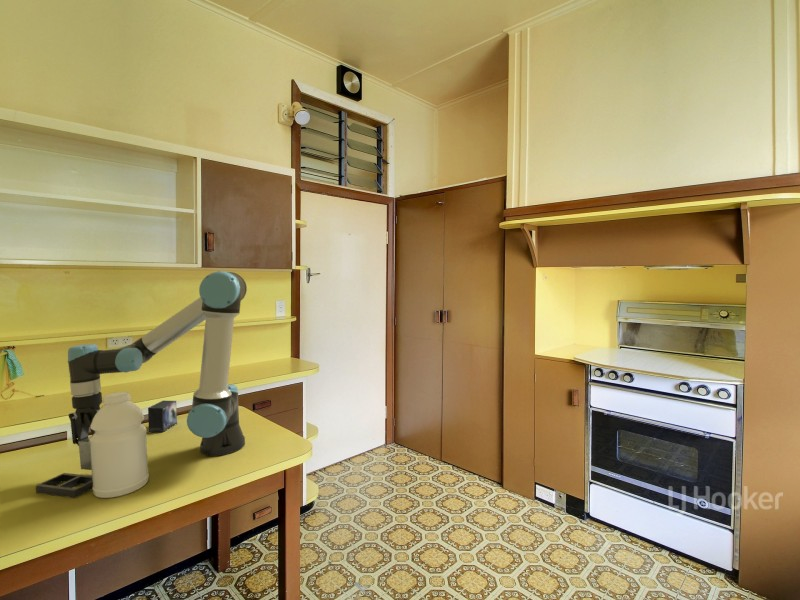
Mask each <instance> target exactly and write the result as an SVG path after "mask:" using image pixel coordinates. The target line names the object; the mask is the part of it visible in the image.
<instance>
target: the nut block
mask: <svg viewBox="0 0 800 600" xmlns="http://www.w3.org/2000/svg"><path fill="white" fill-rule="evenodd" d="M91 436H92V435H90V436H88V438H85V439H83V440H80V441H78V443H79V446H78V450H79V451H78V453H79V462H80V463H79V464H80V470H85V471H86V470H89V471H92V465H91V450H90V437H91Z"/></svg>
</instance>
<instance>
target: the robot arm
mask: <svg viewBox="0 0 800 600" xmlns="http://www.w3.org/2000/svg"><path fill="white" fill-rule="evenodd" d="M247 291H248V288H247V283H246V281H245V279H244V278H243V277H242V276H241V275H240V274H238V273H235V272H231V271H225V270H223V271H222V270H218V271H214V272H213V271H212V272H211V273H209V274H208V275H206V276H205V277H204V278H203V279H202V280H201V282H200V284H199V290H198V292H199V297H198V298H197V299H196V300H194V301H193V302H191V303H190V304H188V305H186V306H185V307H184V308H182V309H181V310H179V311H178V312H177V313H175V314H174V315H172V316H171V317H169V318H168V319H166V320H165V321H163V322H161V323H160V324H159V325H157V326H156V327H155V328H153V329H151V330H150V331H149V332H147V333H146V334H144V335H143V336H141V337H140V338H138V339H137V340H135V341H134V342H132V343H130V344H127V345H125V346H122V347H119V348H113V349H101V350H100V349H99V348H98V345H97V344H95V343H92V344H91V343H88V344H87V343H86V344H78V345H74V346H71V347H69V348H68V350H67V363H68V372H69V379H70V381H69V382H70V383H69V385H70V395H71V396H72V397H71V403H72V404H71V405H72V406H71V407H72V409H74V410H75V411H74V412H71V413H69V414H68V419H69V420H70V429H71V439H72V443H73V444H74V445H77V447H79V443H78V441H80V440H83V439H85V438H88V437H89V435H90V434H89V432H90V431H91V432H90V433H91V436H92V435H93V434H94V433H95V431H94V430H92V429H91V428H90V426H91V423H92V420H93V418H94V416H95V415H96V413H97V412H98V410H99V409H100V408H101V404H102V403H103V395H102V394H103V393H102V392H101V390H102V386H101V375H102V374H116V373H129V372H136V371H138V370H140V368H141V367H142V366H143V364H145V363H147V362H149V361H150V360H151V359H153V357H155V355H156V354H158V353H159V352H161V351H162V350H164V349H166V347H168V346H169V345H171V344H172V343H174V342H175V341H177V340H178V339H180V338H181V337H182V336H184V335H185V334H187V333H188V332H190V331H192V330H193V329H194V328H195V327H197V326H198V325H200V324H202V323H203V322H204V321H205V323H204V332H203V333H204V334H203V345H202V355H201V356H202V357H201V366H200V375H199V376H200V377H199V385H198V388H197V389H196V390H195V391H194V392H193V395H192V405H191V409H189V411H188V413H187V417H186V425H187V429H189V431H190V432H191V433H192V434H193V435H195V436H197V437H199V438H201V441H200V445H199V447H200V448H199V451H200V454H202V455H204V456H210V457H215V456H224V455H229V454H232V453H234V452H237V451H240V450H242V449H243V447H245V445H246V440H245V439H246V438H245V435H244V433H243V431H242V428H241V425H240V417H239V415H240V412H239V389H238V386H237V385H235V384H229V383H228V382H229V374H230V365H231V364H230V362H231V355H232V342H233V333H234V323H235V318H236V317H237V316H239V314H240V311H241V303H242V300H243V299H245V296H246V294H247Z"/></svg>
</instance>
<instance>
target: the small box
mask: <svg viewBox="0 0 800 600" xmlns="http://www.w3.org/2000/svg"><path fill="white" fill-rule="evenodd" d="M177 412H178V411H177V400H161V401H159V402H157V403H155V404H152V405H151V406H149V407H147V415H148V418H147V419H148V420H147V421H148V433H149V432H152V433H164V432H166V431H168V430H169V429H171V428H173V427H174V426H176V425H178V413H177ZM175 424H176V425H175ZM172 426H173V427H172ZM170 427H171V428H170ZM167 429H168V430H167Z"/></svg>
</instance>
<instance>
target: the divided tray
mask: <svg viewBox="0 0 800 600" xmlns="http://www.w3.org/2000/svg"><path fill="white" fill-rule="evenodd" d="M81 484H82V485H81ZM79 485H80V486H79ZM77 486H78V487H77ZM92 488H93V480H92V475H87V474H85V475H84V474H79V473H78V474H77V473H69V472H62V473H61V474H58V475H57V476H54V477H51V478H49V479H48V480H45V481H43V482H41V483H38V484H36V485H35V493H36V494H41V495H47V496H48V495H49V496H50V495H51V496H58V497H63V498H72V499H76V498H79V496H81V495H83V494H86V493H87V492H89V491H92Z"/></svg>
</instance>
